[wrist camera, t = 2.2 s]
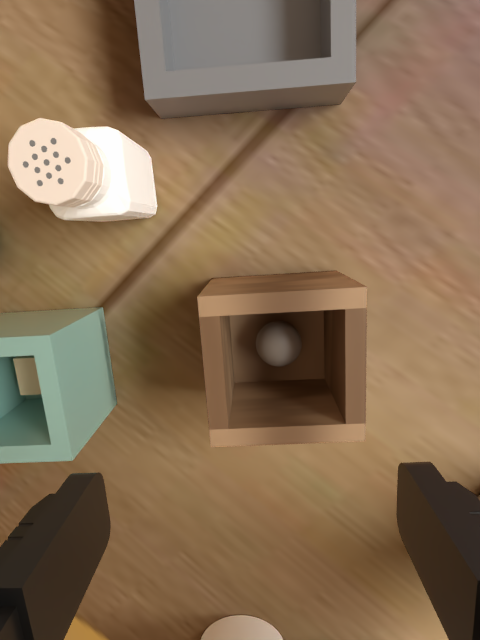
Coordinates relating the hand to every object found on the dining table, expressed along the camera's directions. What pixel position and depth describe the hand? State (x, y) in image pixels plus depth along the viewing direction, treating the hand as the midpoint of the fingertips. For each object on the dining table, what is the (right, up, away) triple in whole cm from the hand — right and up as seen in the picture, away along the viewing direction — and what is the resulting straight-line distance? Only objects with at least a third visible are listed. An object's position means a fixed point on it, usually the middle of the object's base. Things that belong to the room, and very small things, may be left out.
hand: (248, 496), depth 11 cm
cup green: (-13, +2, +17) cm, 21 cm away
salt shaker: (-7, +13, +14) cm, 21 cm away
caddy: (0, +22, +11) cm, 25 cm away
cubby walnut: (+2, +4, +16) cm, 16 cm away
